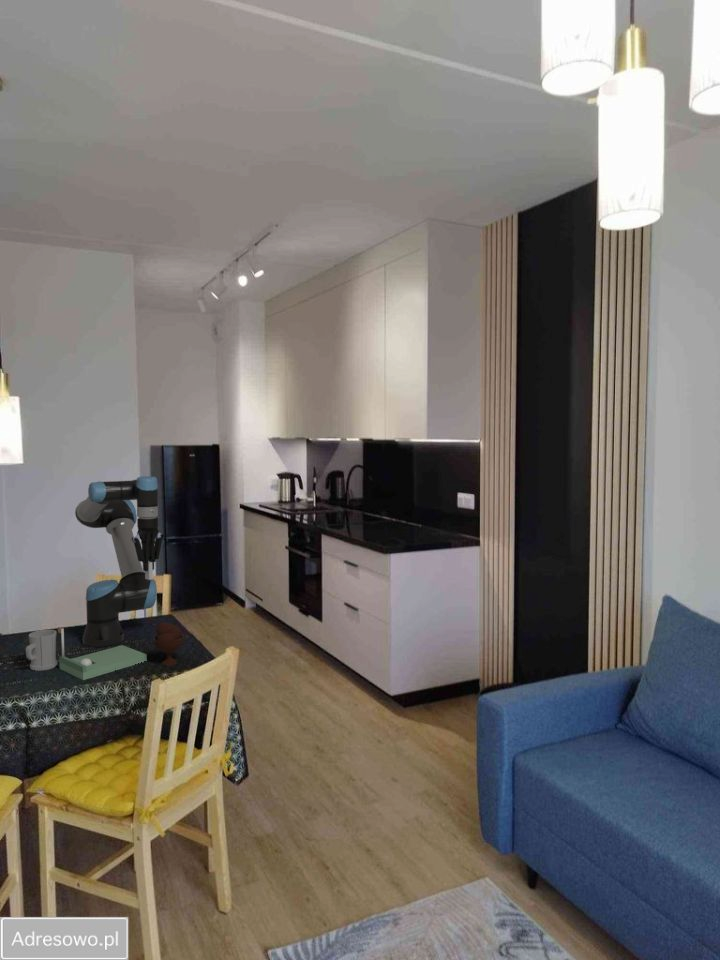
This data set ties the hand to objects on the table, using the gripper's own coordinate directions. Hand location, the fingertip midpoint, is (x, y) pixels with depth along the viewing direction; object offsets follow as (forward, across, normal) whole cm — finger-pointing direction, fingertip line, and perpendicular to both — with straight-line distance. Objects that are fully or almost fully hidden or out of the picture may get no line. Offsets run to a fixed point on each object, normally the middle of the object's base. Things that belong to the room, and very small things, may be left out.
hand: (148, 578), depth 256 cm
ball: (+24, -29, -6) cm, 38 cm away
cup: (+27, -37, +9) cm, 46 cm away
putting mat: (+26, -22, -5) cm, 35 cm away
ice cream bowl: (+27, -6, -21) cm, 34 cm away
